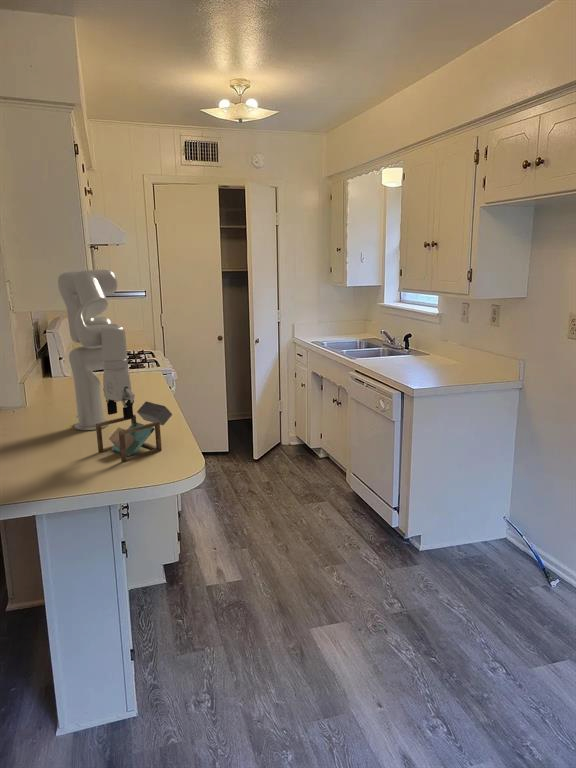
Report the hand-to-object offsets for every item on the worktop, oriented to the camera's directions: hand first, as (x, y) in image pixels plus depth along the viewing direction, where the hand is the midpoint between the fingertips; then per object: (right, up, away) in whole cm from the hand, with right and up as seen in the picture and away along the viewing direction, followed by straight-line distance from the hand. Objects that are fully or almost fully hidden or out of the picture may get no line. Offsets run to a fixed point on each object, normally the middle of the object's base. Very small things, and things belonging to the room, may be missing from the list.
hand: (120, 416), depth 182 cm
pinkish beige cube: (+1, -9, +3) cm, 10 cm away
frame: (+2, -12, +5) cm, 13 cm away
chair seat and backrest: (+6, -6, +8) cm, 12 cm away
